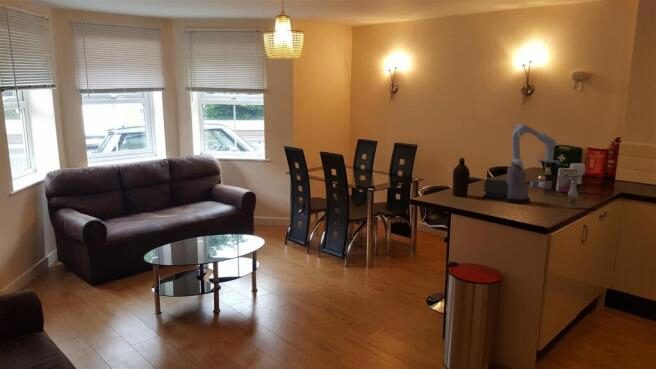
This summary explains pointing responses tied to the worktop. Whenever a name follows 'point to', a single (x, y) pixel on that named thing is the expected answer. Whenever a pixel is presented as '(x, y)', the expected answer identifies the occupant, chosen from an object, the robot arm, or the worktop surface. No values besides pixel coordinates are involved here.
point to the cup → (578, 170)
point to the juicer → (508, 187)
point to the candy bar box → (564, 179)
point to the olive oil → (460, 179)
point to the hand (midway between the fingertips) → (547, 172)
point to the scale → (541, 184)
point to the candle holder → (573, 192)
